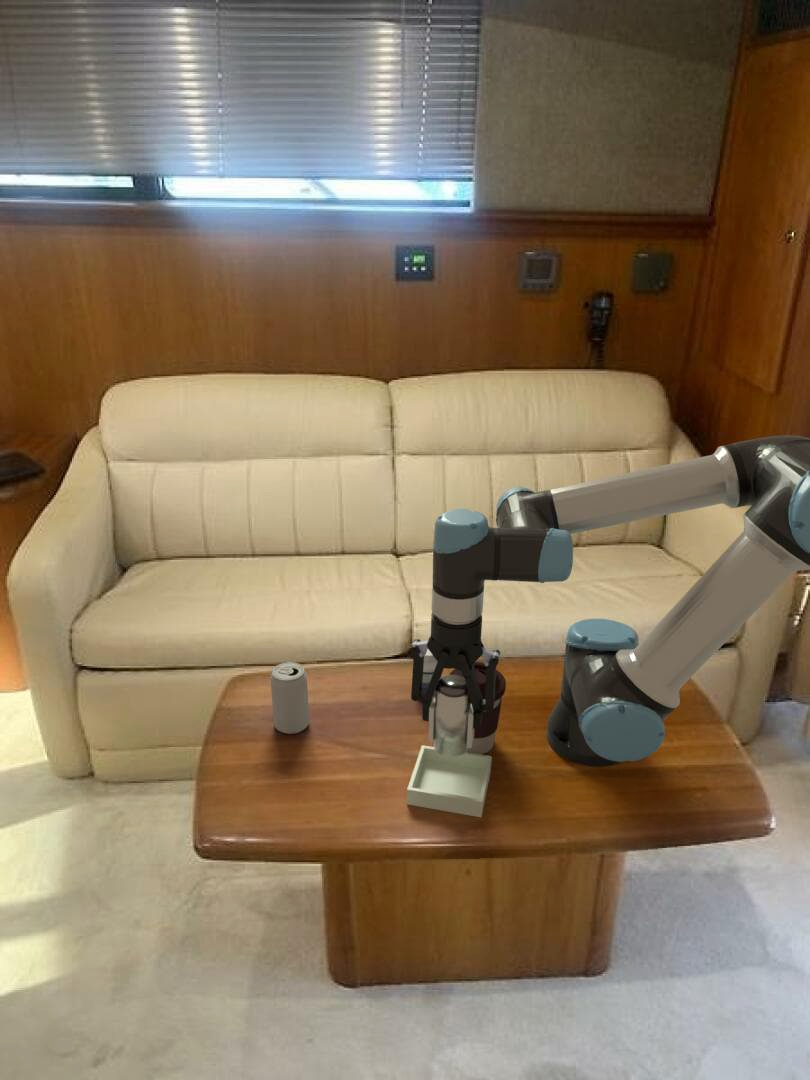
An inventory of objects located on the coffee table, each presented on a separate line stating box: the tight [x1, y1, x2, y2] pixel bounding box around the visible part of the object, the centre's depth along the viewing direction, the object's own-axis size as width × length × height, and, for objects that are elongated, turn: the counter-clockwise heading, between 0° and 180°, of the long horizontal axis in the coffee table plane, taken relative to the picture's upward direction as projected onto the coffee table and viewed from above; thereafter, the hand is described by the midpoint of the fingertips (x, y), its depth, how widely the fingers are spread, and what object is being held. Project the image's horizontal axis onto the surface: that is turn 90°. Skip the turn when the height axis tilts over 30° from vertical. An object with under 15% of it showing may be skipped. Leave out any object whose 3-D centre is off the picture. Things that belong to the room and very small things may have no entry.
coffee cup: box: [448, 661, 507, 755], centre depth 136 cm, size 10×10×15 cm
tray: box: [406, 744, 493, 818], centre depth 129 cm, size 12×11×3 cm
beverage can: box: [270, 661, 310, 735], centre depth 141 cm, size 6×6×12 cm
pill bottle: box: [422, 649, 443, 698], centre depth 151 cm, size 5×5×10 cm
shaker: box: [433, 674, 471, 757], centre depth 123 cm, size 6×6×12 cm
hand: (451, 739), depth 125 cm, fingers closed on shaker, 5 cm apart
